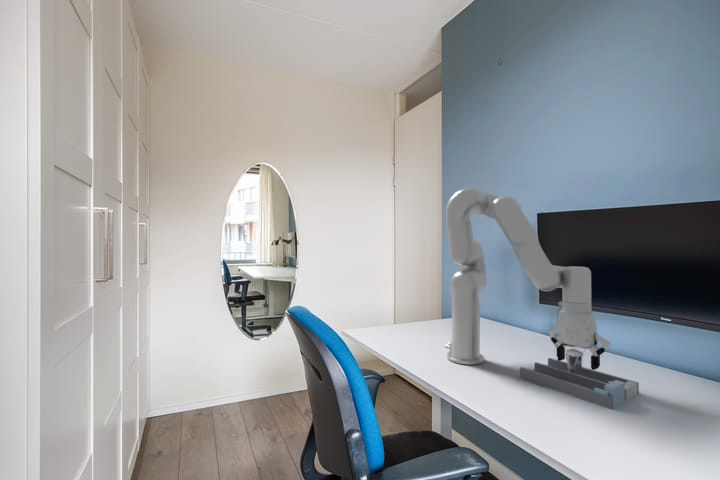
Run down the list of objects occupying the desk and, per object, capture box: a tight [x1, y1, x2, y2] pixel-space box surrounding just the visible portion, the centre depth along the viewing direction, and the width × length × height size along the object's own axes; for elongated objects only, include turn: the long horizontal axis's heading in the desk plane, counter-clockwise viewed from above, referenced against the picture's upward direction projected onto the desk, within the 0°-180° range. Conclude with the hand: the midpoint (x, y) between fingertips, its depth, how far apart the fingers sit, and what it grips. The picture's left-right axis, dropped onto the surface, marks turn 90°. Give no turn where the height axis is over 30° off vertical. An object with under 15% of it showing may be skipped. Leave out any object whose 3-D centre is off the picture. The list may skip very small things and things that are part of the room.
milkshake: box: [565, 348, 586, 375], centre depth 111 cm, size 5×5×10 cm
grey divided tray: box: [519, 357, 640, 410], centre depth 107 cm, size 25×17×5 cm
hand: (577, 364), depth 111 cm, fingers open, 9 cm apart
